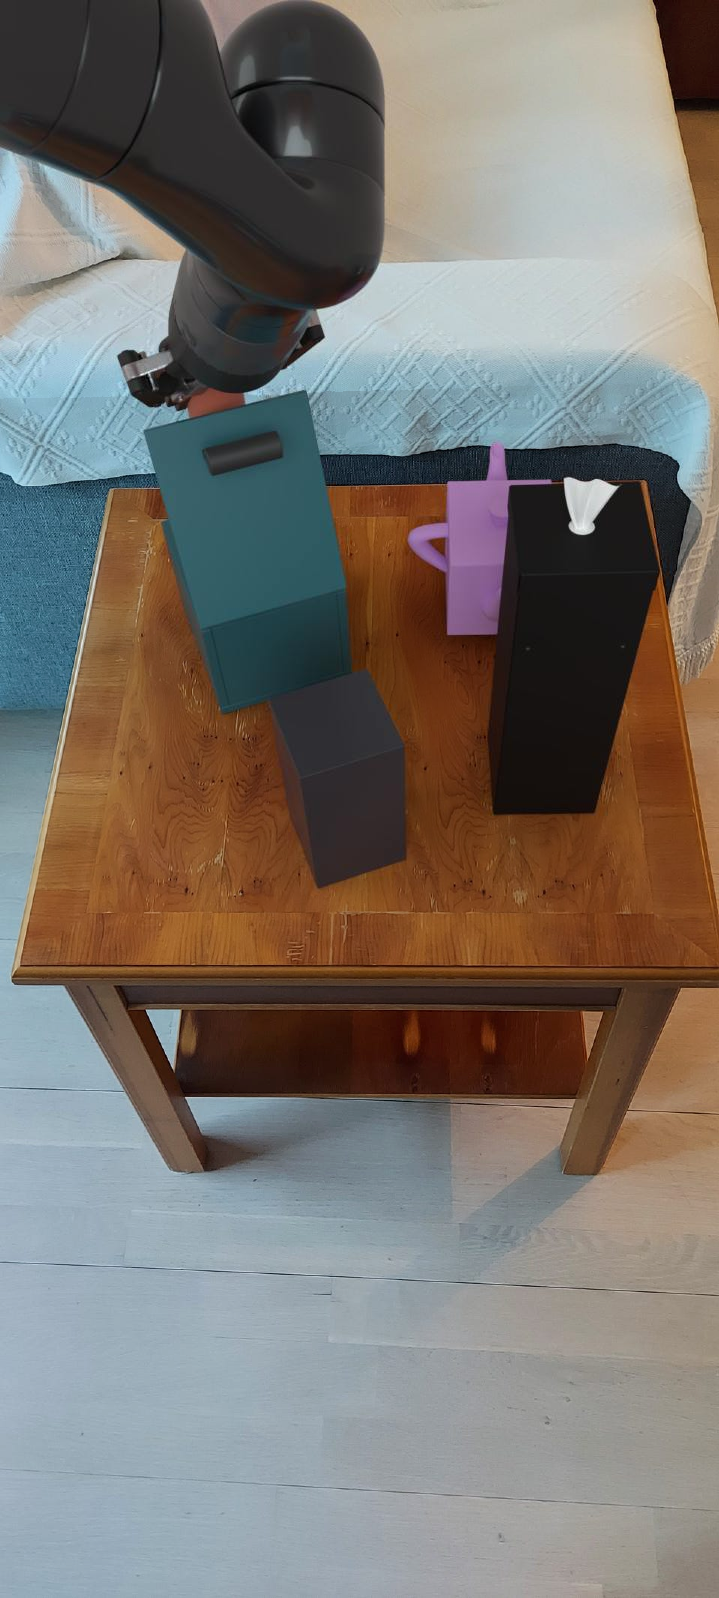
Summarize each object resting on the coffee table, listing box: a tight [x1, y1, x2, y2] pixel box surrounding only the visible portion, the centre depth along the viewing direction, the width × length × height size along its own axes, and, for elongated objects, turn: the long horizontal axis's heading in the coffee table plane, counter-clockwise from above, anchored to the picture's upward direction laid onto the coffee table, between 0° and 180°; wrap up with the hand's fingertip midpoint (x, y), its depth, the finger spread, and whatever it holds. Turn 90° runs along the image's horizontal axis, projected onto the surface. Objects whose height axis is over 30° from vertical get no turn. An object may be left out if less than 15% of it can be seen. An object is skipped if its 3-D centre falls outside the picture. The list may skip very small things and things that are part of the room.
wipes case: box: [160, 519, 353, 715], centre depth 84 cm, size 14×12×10 cm
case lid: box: [142, 389, 348, 629], centre depth 70 cm, size 14×12×5 cm
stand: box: [267, 668, 407, 890], centre depth 70 cm, size 7×7×14 cm
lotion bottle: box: [186, 388, 246, 419], centre depth 72 cm, size 4×4×8 cm
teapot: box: [407, 441, 553, 636], centre depth 85 cm, size 15×13×11 cm
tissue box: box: [486, 476, 661, 816], centre depth 67 cm, size 8×8×28 cm
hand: (206, 387), depth 73 cm, fingers closed on lotion bottle, 4 cm apart
